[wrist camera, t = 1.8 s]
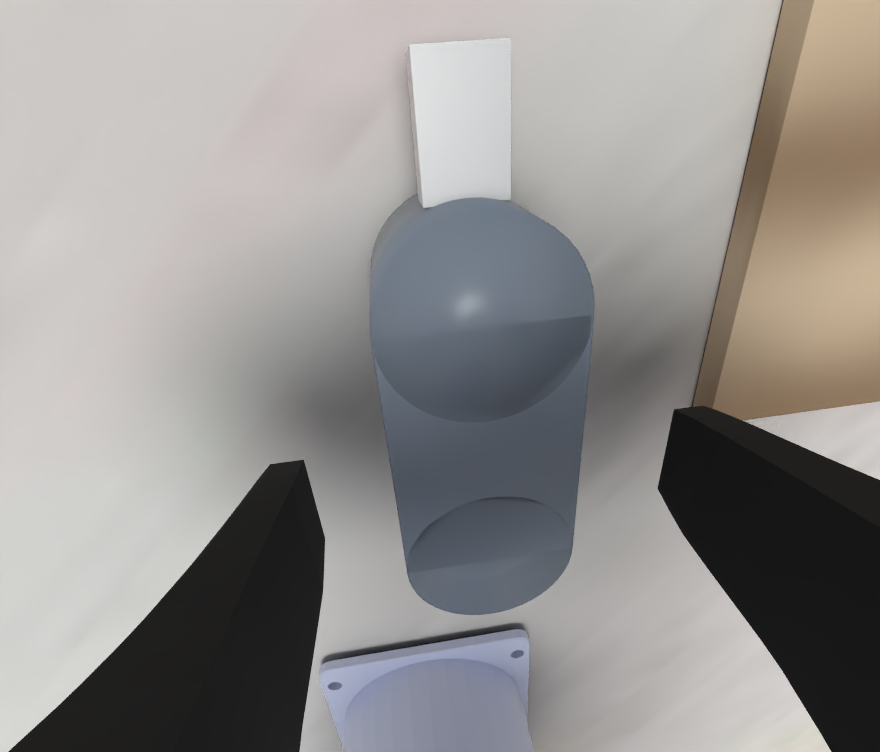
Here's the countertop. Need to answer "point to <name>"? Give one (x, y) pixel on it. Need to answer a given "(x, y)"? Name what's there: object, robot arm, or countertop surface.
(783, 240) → the cork pad
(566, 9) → the countertop surface
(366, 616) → the countertop surface
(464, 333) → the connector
